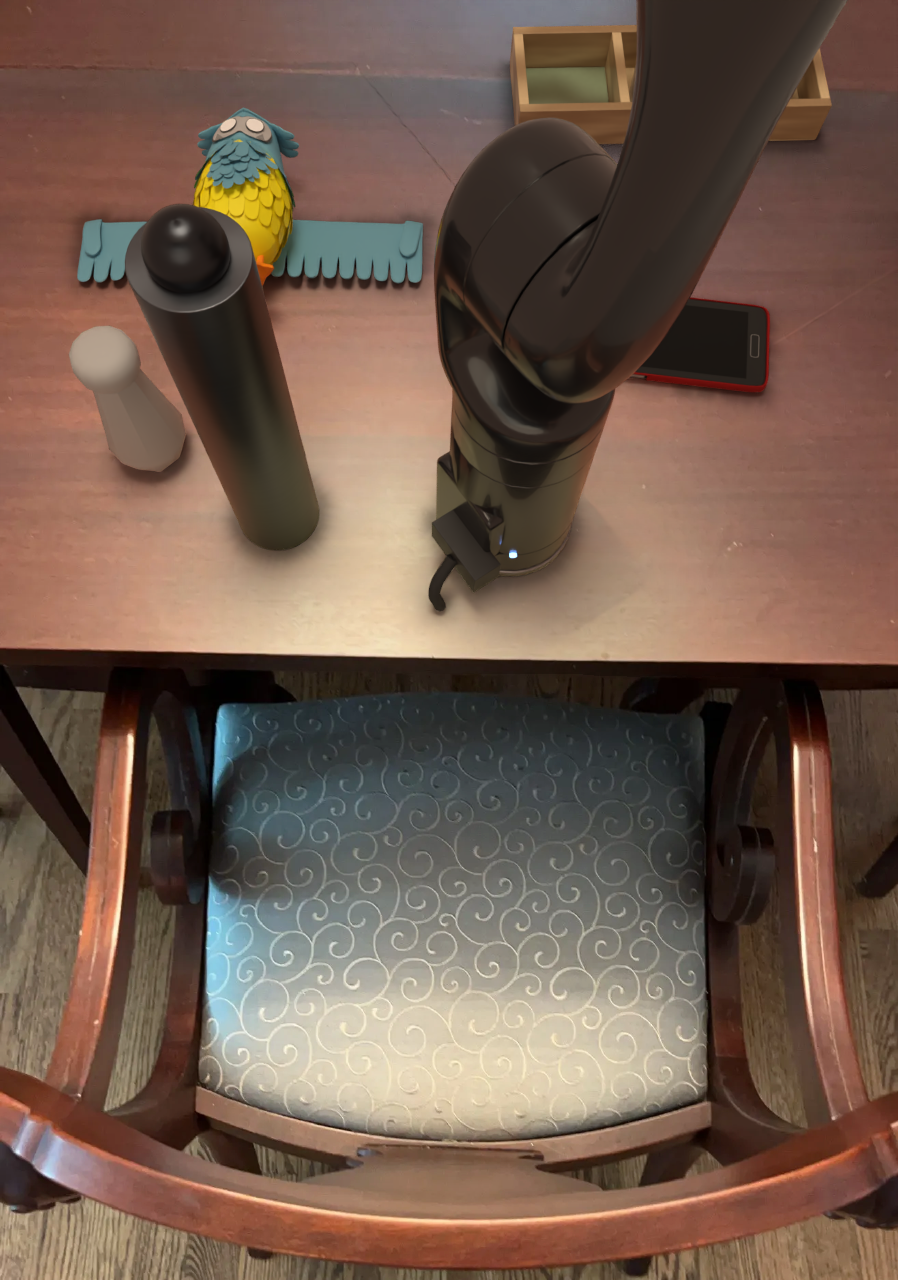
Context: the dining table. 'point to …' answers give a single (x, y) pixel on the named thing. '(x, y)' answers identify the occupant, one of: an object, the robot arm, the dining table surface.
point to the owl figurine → (267, 215)
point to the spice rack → (618, 82)
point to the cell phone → (714, 347)
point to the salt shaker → (127, 400)
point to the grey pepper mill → (226, 365)
